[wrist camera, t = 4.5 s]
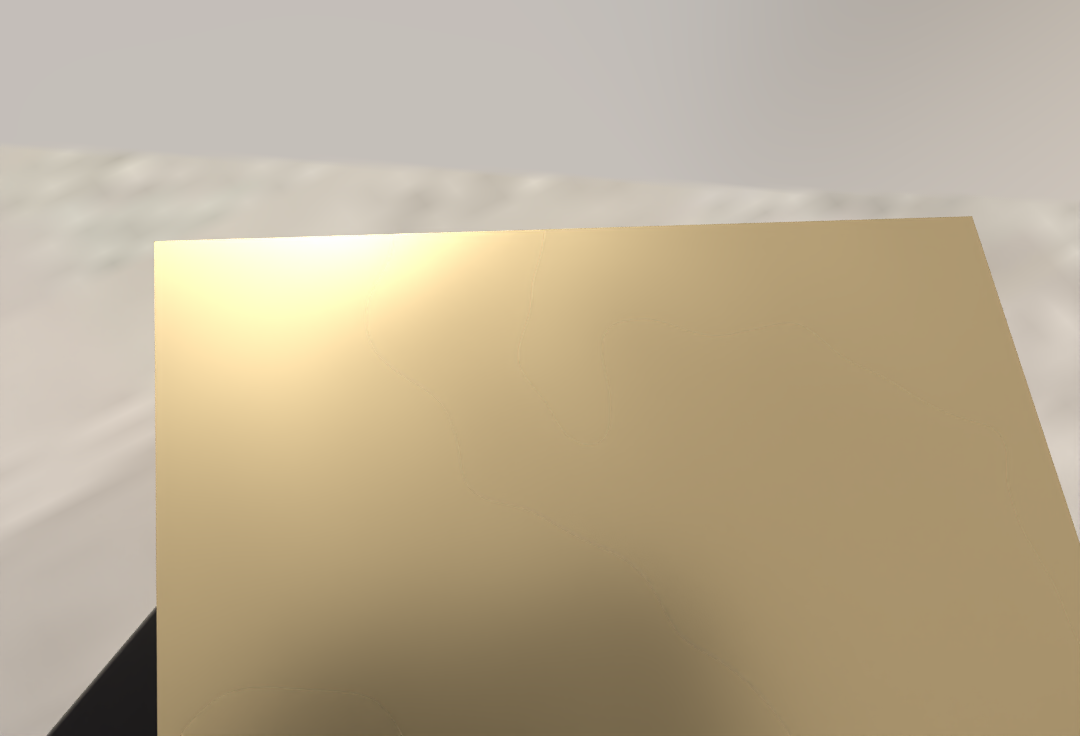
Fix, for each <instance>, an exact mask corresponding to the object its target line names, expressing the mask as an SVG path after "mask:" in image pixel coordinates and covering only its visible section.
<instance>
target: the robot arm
mask: <svg viewBox="0 0 1080 736" xmlns="http://www.w3.org/2000/svg"><path fill="white" fill-rule="evenodd" d="M47 736H157V606H156V607H155V608H154V610H153V611H152V612H151V613H150V614H149V615H148V617H147V618H146V619H145V620H144V621H143V622H142V624H141V625H140V626H139V627H138V628H137V630H136V631H135V632H134V633H133V634H132V635H131V637H130V638H129V639H128V640H127V641H126V643H125V644H124V645H123V646H122V647H121V648H120V650H119V651H118V652H117V653H116V654H115V655H114V657H113V658H112V659H111V660H110V661H109V663H108V664H107V665H106V666H105V667H104V668H103V670H102V671H101V672H100V673H99V674H98V676H97V677H96V678H95V679H94V680H93V681H92V683H91V684H90V685H89V686H88V687H87V688H86V690H85V691H84V692H83V693H82V694H81V696H80V697H79V698H78V699H77V700H76V701H75V703H74V704H73V705H72V706H71V707H70V709H69V710H68V711H67V712H66V713H65V714H64V716H63V717H62V718H61V719H60V720H59V721H58V723H57V724H56V725H55V726H54V727H53V729H52V730H51V731H50V732H49V733H48V734H47Z"/></svg>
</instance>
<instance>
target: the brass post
mask: <svg viewBox="0 0 1080 736" xmlns="http://www.w3.org/2000/svg"><path fill="white" fill-rule="evenodd" d="M154 274H155V432H156V590H157V736H1080V543H1079V540H1078V537H1077V534H1076V531H1075V527H1074V524H1073V521H1072V518H1071V515H1070V512H1069V509H1068V506H1067V503H1066V500H1065V497H1064V494H1063V491H1062V488H1061V485H1060V482H1059V479H1058V476H1057V473H1056V470H1055V467H1054V464H1053V461H1052V458H1051V455H1050V452H1049V449H1048V445H1047V442H1046V439H1045V436H1044V433H1043V430H1042V427H1041V424H1040V421H1039V418H1038V415H1037V412H1036V409H1035V406H1034V403H1033V400H1032V397H1031V394H1030V391H1029V388H1028V385H1027V382H1026V379H1025V376H1024V373H1023V370H1022V367H1021V364H1020V360H1019V357H1018V354H1017V351H1016V348H1015V345H1014V342H1013V339H1012V336H1011V333H1010V330H1009V327H1008V324H1007V321H1006V318H1005V315H1004V312H1003V309H1002V306H1001V303H1000V300H999V297H998V294H997V291H996V288H995V285H994V282H993V279H992V275H991V272H990V269H989V266H988V263H987V260H986V257H985V254H984V251H983V248H982V245H981V242H980V239H979V236H978V233H977V230H976V227H975V224H974V221H973V218H972V216H969V217H937V218H904V219H871V220H839V221H806V222H774V223H741V224H708V225H676V226H643V227H610V228H578V229H545V230H513V231H480V232H447V233H415V234H382V235H349V236H317V237H284V238H251V239H219V240H186V241H154Z"/></svg>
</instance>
